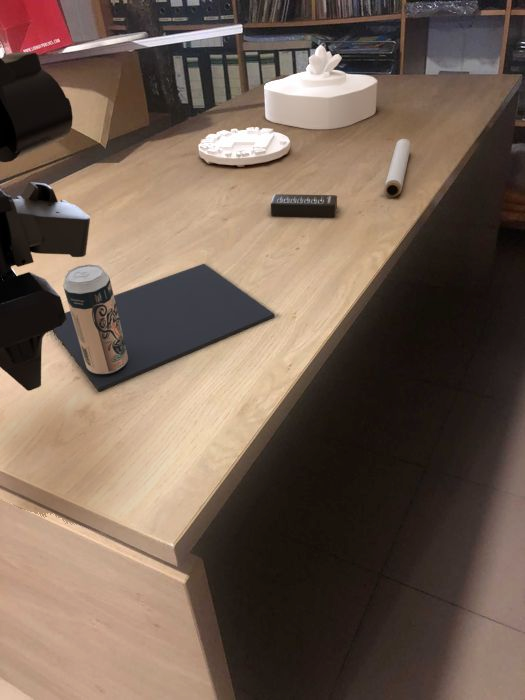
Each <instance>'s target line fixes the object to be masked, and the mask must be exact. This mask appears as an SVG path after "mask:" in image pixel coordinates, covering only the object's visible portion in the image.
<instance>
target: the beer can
mask: <svg viewBox="0 0 525 700" xmlns="http://www.w3.org/2000/svg"><path fill="white" fill-rule="evenodd" d="M62 287H63V290H64V294H65V297H66V301H67V305H68V308H69V311H70V312H71V315H72V318H73V322H74V325H75V329H76V332H77V336H78V339H79V343H80V346H81V350H82V353H83V357H84V360H85V364H86V367H87V369H88V370H89V371H91V372H93V373H96V374H109V373H113V372H115V371H117V370H119V369H120V368H122V367H123V366H124V365H125V364H126V362H127V360H128V355H127V351H126V346H125V342H124V338H123V333H122V329H121V325H120V320H119V316H118V312H117V308H116V303H115V299H114V295H115V294H114V291H113V286H112V282H111V278H110V275H109V274H108V273H107V272H105V270H104V268H102V267H101V266H100V264H99V265H98V264H90V263H89V264H83V265H78V266H76V267H73V268H72V269H70V270H68V271H67V272H66V274H65V276H64V281H63V285H62Z"/></svg>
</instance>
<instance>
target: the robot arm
mask: <svg viewBox="0 0 525 700" xmlns="http://www.w3.org/2000/svg"><path fill="white" fill-rule="evenodd" d="M73 119H74V117H73V108H72V105H71V101H70V98H68V97H67V95H66V94H65V92H64V90H63V88H62V87H61V85H60V84H59V82H58V81H57V80H56V79H55V78H54V77H53V76H52V75H51V74H50V73H49V72H47V71H45V70H44V69H42V64H41V62H40V57H39V54H38V53H37V52H31V51H15V52H11V53H7V54H5V55H4V56H2V57H0V163H9V162H13V161H16V160H17V159H20V158H22V157H25V156H27V155H30V154H32V153H35V152H36V151H40V150H41V149H44V148H46V147H48V146H52V145H53V144H55V143H58V142H60V141H63V140H64V139H65V138H67V137H68V135H69V134H70V132H71V130H72V127H73ZM90 222H91V216H90V215H88V214H87V213H86V212H84V210H82V209H81V208H80V207H78V206H77V205H75V204H73V203H69V202H68V201H66V200H65V199H60V201H58V198H57V195H56V193H55V191H54V189H53V188H52V187H51V186H49V185H48V184H47V183H45V182H44V183H43V182H34V181H29V182H28V183H27V185H26V186H25V188H24V189H23V191H22V193H21V194H20V195H15V198H12V196H11V195H10V194H6V193H5V192H4V191H3V189H2V188H1V186H0V369H2V370H3V371H4V372H6V374H8V376H10V377H11V378H12V379H14V381H15V382H17V383H18V385H20V386H21V387H22V388H24V389H25V390H26V391H27V392H30V391H33V390H35V389H38V388H40V387H41V386H42V349H43V339H44V337H45V335H46V334H47V333H49V332H52V331H53V330H54V329H55V328H57V327H59V326H62V325H63V324H64V322H65V321H66V320H67V318H66V315H65V313H66V312H65V308H64V304H63V301H62V297H61V296H60V294H59V293H57V291H56V290H55V289H54V288H53V287H52V286H51V285H50V283H49V282H48V281H47V279H46V278H45V277H41V276H39V275H37V274H35V273H33V272H30V271H27V272H24V273H21V274H17V273H16V272H15V270H14V269H13V268H12V267H14V266H16V267H18V268H19V267H23V266H27V265H29V264H34V262H35V261H34V258H33V255H32V253H34V254H38V255H39V254H41V255H69V256H70V257H72V258H84V257H85V256H86V255H87V248H88V240H89V233H90V232H89V231H90V224H91V223H90Z"/></svg>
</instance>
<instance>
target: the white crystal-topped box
mask: <svg viewBox="0 0 525 700" xmlns="http://www.w3.org/2000/svg"><path fill="white" fill-rule="evenodd" d="M314 51H315V52H314V53H313V54H312V55H310V56H309V57H308V63H309V64H308V65H307V67H306V68H305V69H306V70H305V71H301V72H297V73H294V74H291V75H288V76H286V77H284V78H281V79H275V80H272V81H269V82H267V83H265V85H264V87H263V91H264V92H263V93H264V94H263V95H264V112H265V113H264V114H265V115H264V116H265V119H266V120H267V121H269V122H271V123H275V124H278V125H283V126H284V125H285V126H290V127H294V128H299V129H305V130H318V131H319V130H335V129H341V128H345V127H348V126H352V125H354V124H357V123H359V122H361V121H363V120H366V119H368V118H370V117H373V116H374V115H375V114H376V111H377V94H378V79H377V78H375V77H374V76H372V75H368V74H358V73H357V74H354V73H346V72H344V71H343V70H338V69H335V68H336V67H337V66H338V65H339V63H340V62H341V60H342V59H343V57H342V56H341V55H340V54H339V53H337V54H334V55H332V53H331V51H330V50H329V51H327V50H326V48H325V47H324V46H323V44H320V45H318V46H317V47H316V49H315V50H314Z"/></svg>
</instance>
